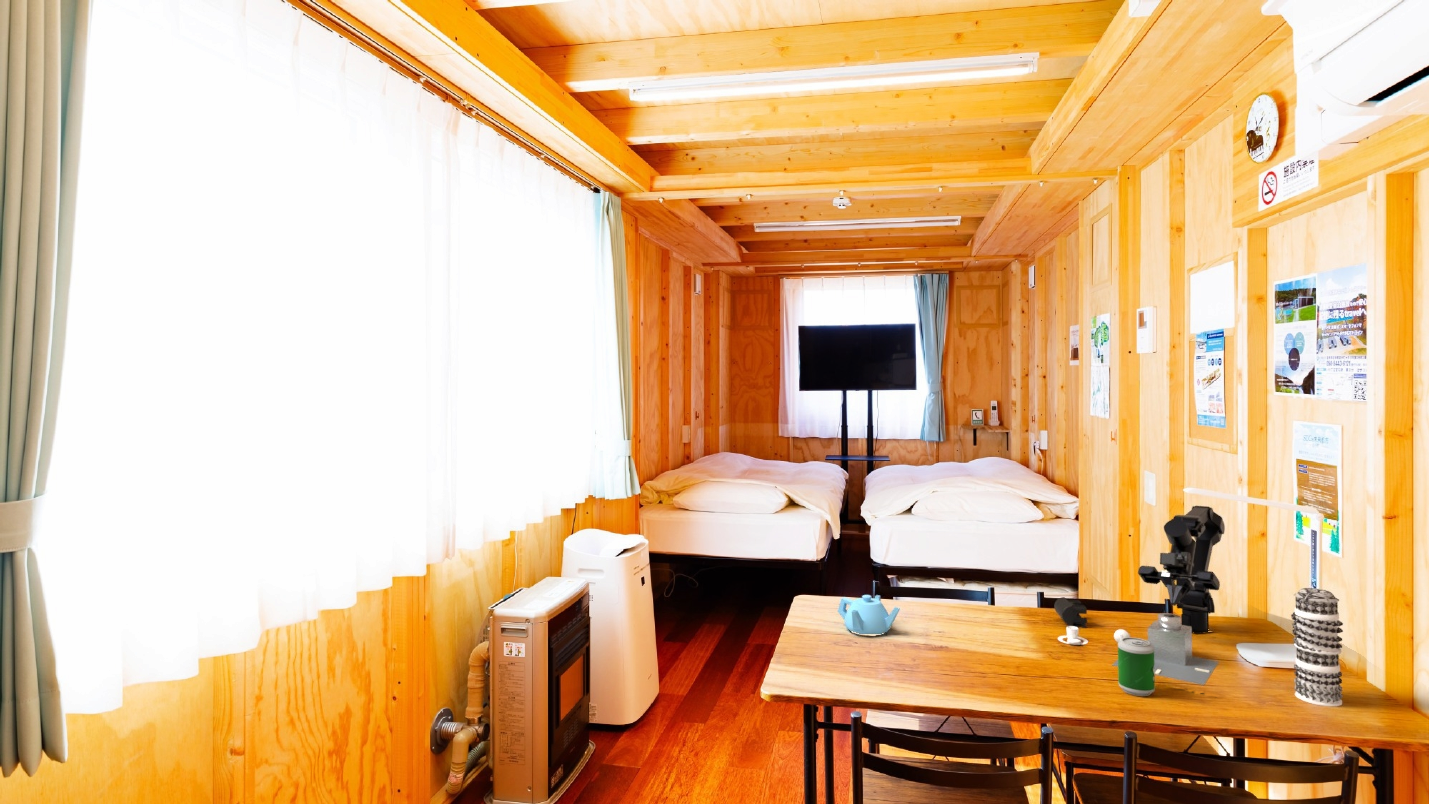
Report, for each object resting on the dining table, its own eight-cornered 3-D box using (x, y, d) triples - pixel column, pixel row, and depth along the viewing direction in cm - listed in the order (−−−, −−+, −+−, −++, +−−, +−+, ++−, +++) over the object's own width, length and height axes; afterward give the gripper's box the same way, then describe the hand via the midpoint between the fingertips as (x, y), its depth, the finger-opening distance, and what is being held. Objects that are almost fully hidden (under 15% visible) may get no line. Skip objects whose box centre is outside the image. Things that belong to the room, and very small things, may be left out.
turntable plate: (1132, 648, 201) (1131, 612, 201) (1218, 665, 187) (1218, 626, 187) (1112, 669, 187) (1111, 630, 187) (1203, 689, 173) (1203, 647, 173)
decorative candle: (1296, 702, 165) (1293, 593, 164) (1289, 687, 172) (1287, 583, 172) (1348, 710, 160) (1346, 598, 160) (1339, 695, 168) (1337, 588, 168)
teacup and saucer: (1080, 649, 203) (1080, 634, 203) (1051, 642, 209) (1051, 628, 209) (1093, 641, 208) (1092, 627, 208) (1064, 635, 214) (1064, 621, 214)
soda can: (1154, 700, 168) (1153, 648, 167) (1117, 693, 172) (1116, 643, 171) (1155, 688, 174) (1154, 639, 174) (1119, 682, 178) (1118, 634, 178)
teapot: (881, 621, 231) (881, 587, 231) (901, 636, 216) (901, 600, 216) (836, 624, 228) (835, 590, 228) (853, 640, 214) (852, 604, 214)
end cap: (1054, 617, 230) (1053, 596, 230) (1078, 618, 229) (1077, 597, 229) (1062, 627, 221) (1061, 605, 221) (1087, 628, 219) (1087, 606, 219)
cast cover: (1155, 649, 197) (1155, 609, 197) (1192, 656, 191) (1191, 614, 191) (1148, 658, 191) (1147, 616, 191) (1185, 665, 185) (1184, 622, 185)
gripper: (1135, 538, 209) (1125, 586, 202) (1210, 542, 195) (1202, 594, 188) (1149, 558, 214) (1140, 605, 207) (1223, 563, 200) (1216, 615, 193)
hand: (1173, 604), depth 199 cm, fingers closed
